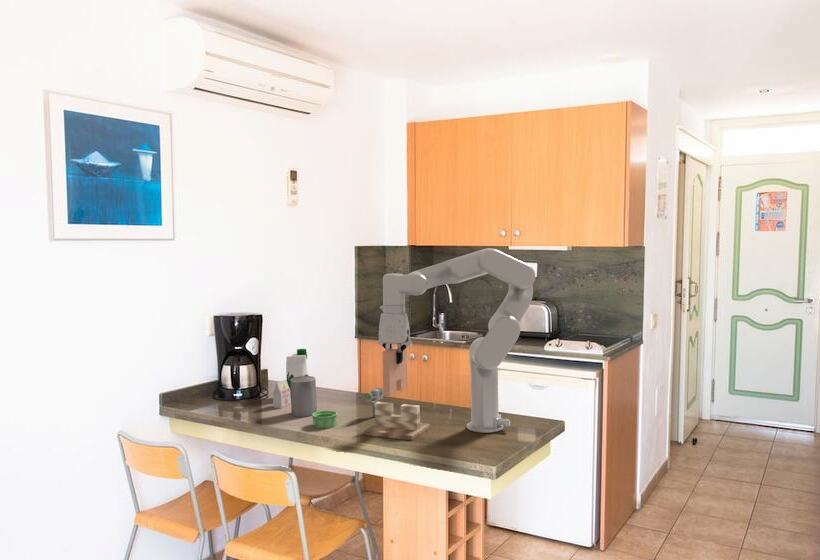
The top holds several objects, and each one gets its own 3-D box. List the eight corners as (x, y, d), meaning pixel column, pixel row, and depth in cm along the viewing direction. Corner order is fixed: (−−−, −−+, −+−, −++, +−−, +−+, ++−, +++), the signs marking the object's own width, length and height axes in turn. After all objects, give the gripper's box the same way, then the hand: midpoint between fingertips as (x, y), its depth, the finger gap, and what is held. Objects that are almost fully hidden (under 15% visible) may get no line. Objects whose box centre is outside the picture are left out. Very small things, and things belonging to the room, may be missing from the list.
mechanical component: (364, 419, 255) (363, 393, 254) (378, 413, 264) (377, 387, 263) (371, 420, 254) (370, 393, 253) (385, 413, 263) (384, 387, 262)
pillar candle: (298, 409, 272) (296, 372, 271) (321, 410, 269) (319, 372, 268) (287, 416, 263) (285, 377, 261) (310, 417, 260) (309, 378, 259)
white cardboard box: (273, 407, 276) (272, 383, 275) (283, 403, 282) (282, 379, 281) (281, 408, 275) (280, 383, 274) (290, 404, 281) (289, 380, 280)
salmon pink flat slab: (389, 396, 232) (389, 352, 230) (383, 395, 233) (382, 351, 231) (407, 387, 244) (406, 345, 243) (400, 387, 245) (400, 345, 244)
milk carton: (308, 398, 290) (306, 351, 289) (286, 399, 289) (284, 351, 288) (309, 393, 299) (308, 347, 297) (288, 394, 298) (286, 348, 297)
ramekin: (333, 429, 244) (333, 417, 244) (309, 428, 246) (308, 416, 245) (340, 422, 253) (340, 410, 253) (316, 421, 254) (316, 410, 254)
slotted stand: (430, 428, 242) (429, 401, 242) (412, 440, 229) (411, 412, 228) (384, 423, 250) (383, 397, 249) (364, 434, 236) (363, 407, 236)
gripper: (368, 310, 236) (369, 363, 238) (411, 311, 230) (412, 366, 231) (378, 307, 243) (379, 359, 244) (420, 309, 236) (421, 362, 238)
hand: (395, 362), depth 238 cm, fingers closed on salmon pink flat slab, 2 cm apart
